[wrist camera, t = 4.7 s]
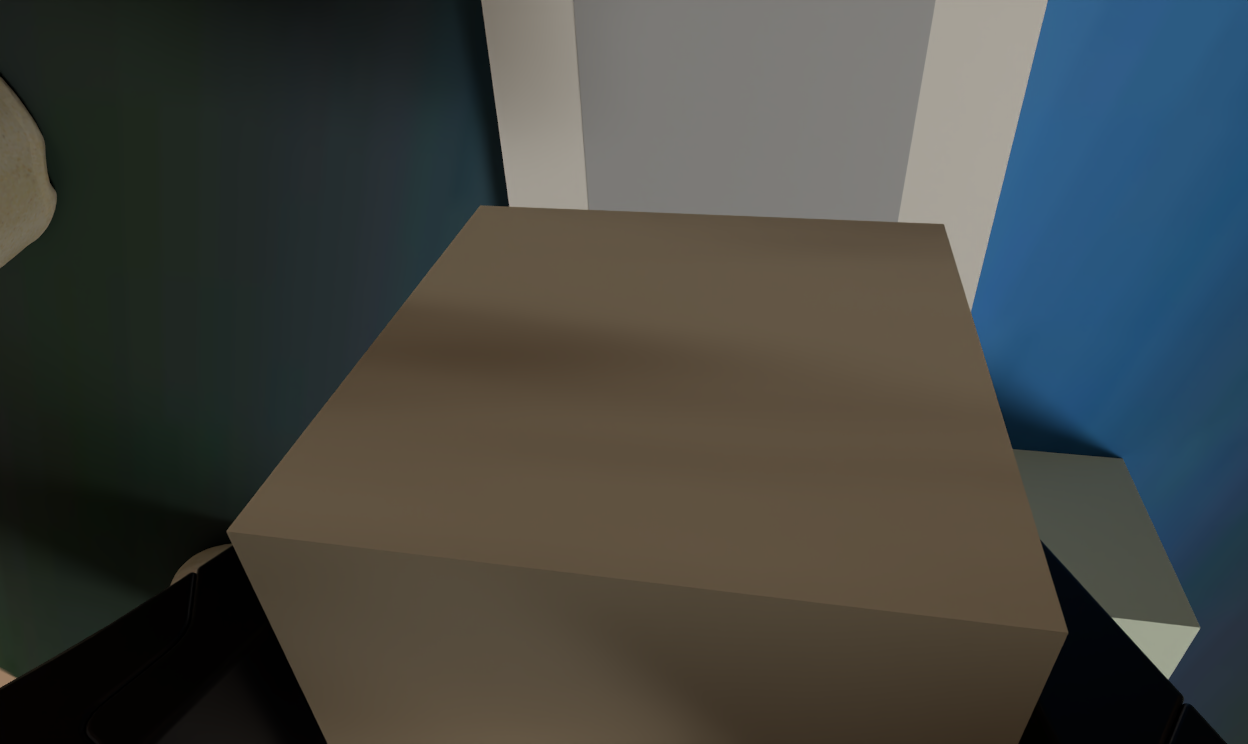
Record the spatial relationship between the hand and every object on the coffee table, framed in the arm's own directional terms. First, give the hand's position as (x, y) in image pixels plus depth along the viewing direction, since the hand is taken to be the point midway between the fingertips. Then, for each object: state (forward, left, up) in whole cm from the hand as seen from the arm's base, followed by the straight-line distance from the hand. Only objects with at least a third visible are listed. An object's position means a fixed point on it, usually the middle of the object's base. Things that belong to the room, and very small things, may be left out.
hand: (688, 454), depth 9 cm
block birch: (0, 0, -1) cm, 1 cm away
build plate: (0, 0, -9) cm, 9 cm away
